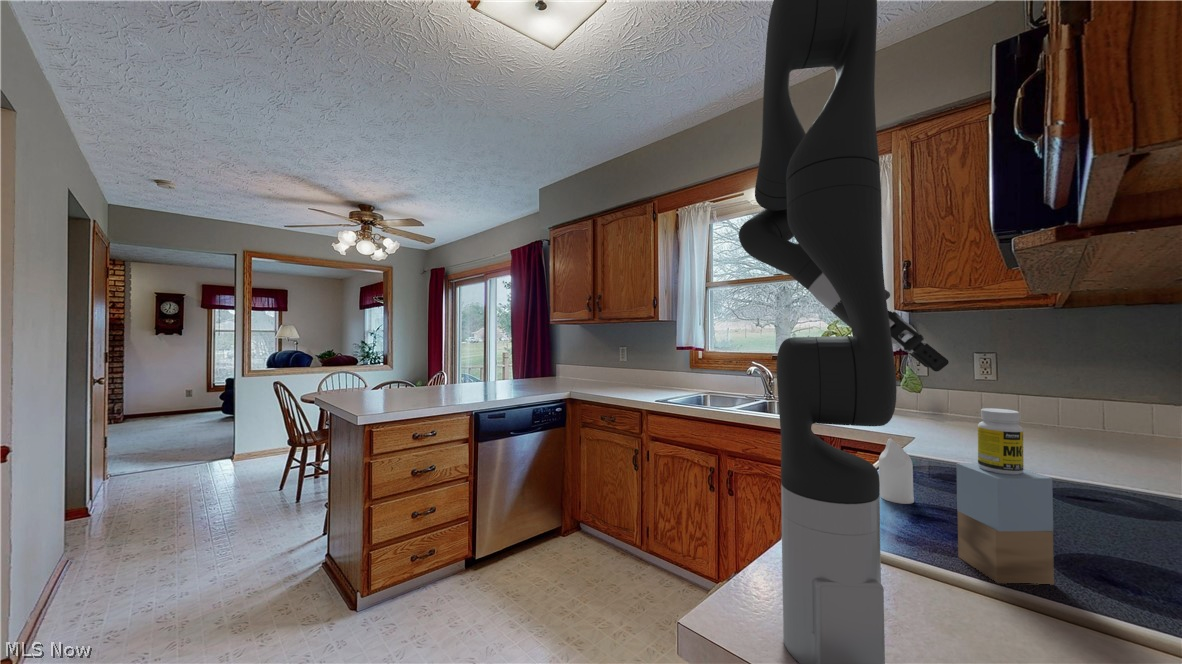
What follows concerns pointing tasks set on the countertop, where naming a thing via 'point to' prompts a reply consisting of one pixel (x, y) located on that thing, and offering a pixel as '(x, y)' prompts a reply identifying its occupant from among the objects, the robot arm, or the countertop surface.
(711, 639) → the countertop surface
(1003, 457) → the supplement bottle
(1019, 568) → the walnut block
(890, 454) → the white bottle
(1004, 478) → the slate block
